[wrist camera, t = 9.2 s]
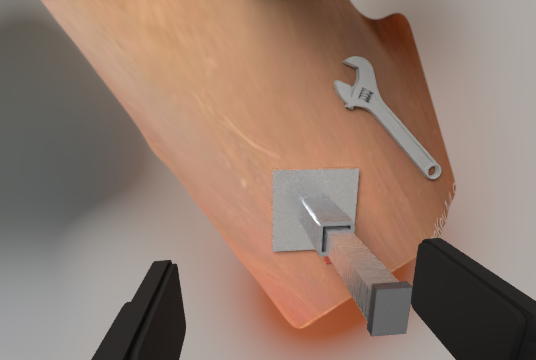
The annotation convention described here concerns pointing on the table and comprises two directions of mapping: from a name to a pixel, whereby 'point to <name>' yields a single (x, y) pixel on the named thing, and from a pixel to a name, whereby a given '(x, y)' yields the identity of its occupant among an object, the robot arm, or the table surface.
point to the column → (368, 282)
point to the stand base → (311, 205)
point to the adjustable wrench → (382, 113)
